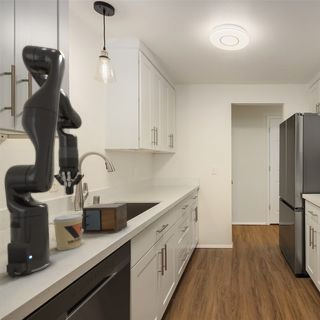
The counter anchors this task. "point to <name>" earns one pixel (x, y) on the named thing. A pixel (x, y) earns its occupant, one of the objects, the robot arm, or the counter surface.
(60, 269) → the counter surface
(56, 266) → the counter surface
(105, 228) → the cupboard
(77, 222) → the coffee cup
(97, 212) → the sliding lid with handle
